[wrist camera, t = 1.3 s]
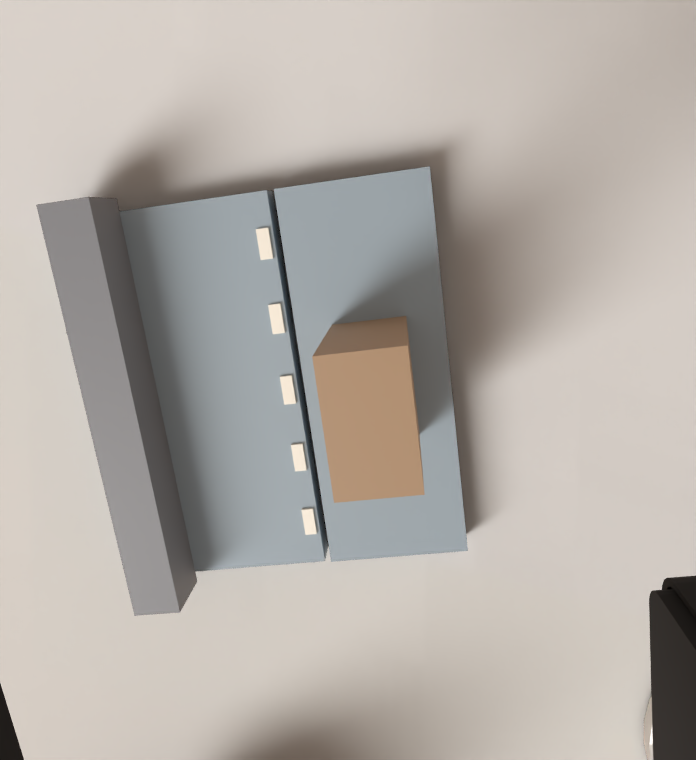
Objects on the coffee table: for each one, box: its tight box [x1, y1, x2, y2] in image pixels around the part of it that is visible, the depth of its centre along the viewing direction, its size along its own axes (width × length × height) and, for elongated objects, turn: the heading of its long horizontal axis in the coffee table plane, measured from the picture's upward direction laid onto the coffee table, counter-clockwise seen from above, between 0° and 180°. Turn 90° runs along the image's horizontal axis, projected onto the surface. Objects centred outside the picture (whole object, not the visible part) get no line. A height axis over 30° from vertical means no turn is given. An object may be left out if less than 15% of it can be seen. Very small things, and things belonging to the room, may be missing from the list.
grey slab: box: [274, 166, 468, 562], centre depth 24 cm, size 6×16×7 cm, turn 8°
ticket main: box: [37, 190, 328, 616], centre depth 27 cm, size 9×17×4 cm, turn 8°
